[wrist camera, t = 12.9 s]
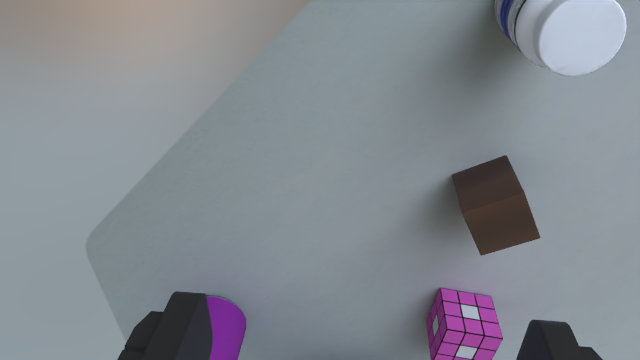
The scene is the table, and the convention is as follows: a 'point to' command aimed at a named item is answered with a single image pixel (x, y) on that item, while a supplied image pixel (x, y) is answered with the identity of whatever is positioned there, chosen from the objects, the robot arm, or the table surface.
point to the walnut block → (495, 206)
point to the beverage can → (226, 328)
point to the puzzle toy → (463, 327)
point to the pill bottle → (564, 32)
